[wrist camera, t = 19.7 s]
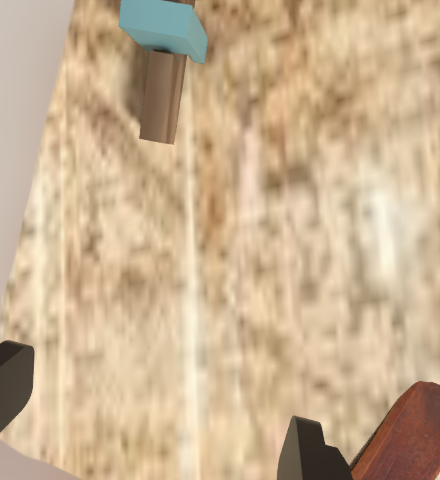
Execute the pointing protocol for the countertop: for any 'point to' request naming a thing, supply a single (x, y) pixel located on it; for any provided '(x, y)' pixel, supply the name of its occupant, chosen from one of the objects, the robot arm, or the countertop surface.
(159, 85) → the walnut slotted plate
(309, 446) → the robot arm
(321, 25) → the countertop surface
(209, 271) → the countertop surface
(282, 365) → the countertop surface
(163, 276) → the countertop surface
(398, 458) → the wooden tablet
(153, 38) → the teal notched bridge block
